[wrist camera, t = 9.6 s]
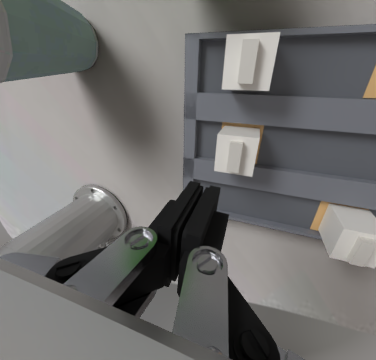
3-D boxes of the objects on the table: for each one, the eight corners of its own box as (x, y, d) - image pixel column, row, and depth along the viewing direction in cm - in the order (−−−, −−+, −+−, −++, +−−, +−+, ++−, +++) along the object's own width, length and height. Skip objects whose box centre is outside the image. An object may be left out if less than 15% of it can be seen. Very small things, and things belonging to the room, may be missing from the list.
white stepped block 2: (354, 236, 24) (378, 274, 19) (317, 229, 25) (331, 263, 20) (369, 210, 22) (399, 245, 17) (329, 203, 23) (346, 234, 18)
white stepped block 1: (253, 161, 24) (251, 180, 19) (221, 156, 25) (212, 173, 20) (259, 128, 22) (259, 140, 17) (225, 125, 23) (215, 135, 18)
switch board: (379, 240, 25) (390, 254, 22) (188, 200, 32) (182, 208, 30) (516, 25, 15) (559, 14, 12) (192, 38, 22) (185, 33, 20)
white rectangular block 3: (267, 89, 20) (269, 91, 15) (229, 88, 21) (220, 89, 16) (276, 43, 18) (281, 29, 14) (233, 45, 19) (225, 31, 15)
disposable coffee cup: (41, -6, 25) (-180, -98, 13) (109, -12, 22) (-88, -138, 10) (61, 84, 30) (-83, 83, 17) (119, 88, 27) (-3, 90, 15)
